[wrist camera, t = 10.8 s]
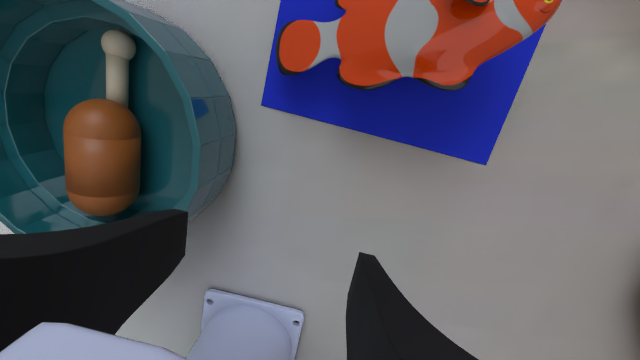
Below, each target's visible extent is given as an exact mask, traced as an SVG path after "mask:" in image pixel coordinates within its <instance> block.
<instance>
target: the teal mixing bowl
mask: <svg viewBox="0 0 640 360" xmlns="http://www.w3.org/2000/svg"><path fill="white" fill-rule="evenodd" d="M111 29H118V30H122V31H124V32H126V33H128V34H129V35H130V36H131V37H132V38H133V40H134V42H135V44H136V53H135V55H134V57H133V58H132V59H130V60H129V98H128V109H129V110H130V111H131V112H132V113H133V114H134V115H135V116H136V118H137V120H138V121H139V124H140V127H141V135H142V138H141V170H140V189H139V193H138V196H137V198H136V200H135V201H134V202H133V204H132V205H130V206H129V207H128V208H127V209H125V210H124V211H122V212H120V213H117V214H114V215H109V216H96V215H90V214H88V213H85V212H83V211H81V210H79V209H78V208H77V207H75V206H74V204H73V203H72V202H71V201H70V200H69V197H68V195H67V192H66V186H65V163H64V141H63V123H64V120H65V117H66V115H67V114H68V112H69V111H70V110H71V109H72V108H73V107H74V106H75V105H77V104H79V103H81V102H83V101H86V100H89V99H106V53H105V52H104V51H103V49H102V46H101V38H102V36H103V34H104V33H105V32H106V31H108V30H111ZM235 138H236V128H235V123H234V118H233V112H232V107H231V101H230V97H229V95H228V93H227V91H226V89H225V87H224V85H223V83H222V81H221V79H220V77H219V75H218V73H217V71H216V69H215V67H214V65H213V63H212V61H211V59H210V58H209V57H208V56H207V55H206V54H205V53H204V52H203V51H202V50H201V48H200V47H199V46H198V45H197V44H196V43H195V42H194V41H193V40H192V39H191V38H190V37H189V35H188V34H187V33H186V32H185V31H183V30H182V29H181V28H179V27H177V26H176V25H174V24H172V23H170V22H169V21H167V20H165V19H164V18H162V17H160V16H159V15H157V14H155V13H154V12H152V11H150V10H147V9H145V8H142V7H140V6H137V5H134V4H132V3H129V2H127V1H124V0H0V221H1V222H2V223H3V224H4V225H5V226H7V227H8V228H9V229H10V230H11V231H12V232H13V233H15V234H26V233H38V232H50V231H61V230H69V229H76V228H83V227H90V226H95V225H100V224H105V223H110V222H115V221H119V220H124V219H128V218H133V217H137V216H141V215H145V214H149V213H153V212H158V211H162V210H167V209H178V210H182V211H187V212H188V222H189V221H190V220H192V219H193V218H194V217H195V216H197V215H198V214H199V213H200V212H201V211H202V210H203V209H204V208H205V207H206V206H207V205H208V204H209V203H211V202H212V201H213V200H214V199H215V198H216V197H217V196H218V194H219V193H220V191H221V189H222V187H223V185H224V183H225V181H226V179H227V176H228V174H229V172H230V170H231V168H232V163H233V155H234V146H235Z"/></svg>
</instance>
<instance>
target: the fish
mask: <svg viewBox="0 0 640 360" xmlns="http://www.w3.org/2000/svg"><path fill="white" fill-rule="evenodd" d="M561 1H562V0H334V5H335V7H336V8H338V9H340V10H342V11H345V12H344V14H343V15H342V16H341V17H339V18H337V19H335V20H331V21H317V20H312V19H294V20H290V21H288V22H286V23H285V24H284V25H283V26H282V27H281V28H280V30H279V32H278V35H277V38H276V42H275V60H276V65H277V69H278V71H279V73H280V74H282V75H283V76H296V75H299V74H302V73H304V72H307V71H308V70H310V69H312V68H314V67H316V66H317V65H319V64H321V63H322V62H324V61H326V60H329V59H339V60H340V64H339V66H338V68H337V71H336V77H337V79H338V80H339V81H340V82H341V83H342V84H343V85H344V86H346V87H348V88H351V89H354V90H358V91H374V90H378V89H381V88H384V87H386V86H388V85H390V84H392V83H394V82H396V81H398V80H400V79H402V78H412V79H414V80H416V81H418V82H420V83H422V84H424V85H426V86H428V87H430V88H433V89H436V90H440V91H445V92H456V91H460V90H462V89H463V88H465V87H466V86H467V85H468V83H469V82H470V80H471V78H472V76H473V74H474V73H475V71H476V70H477V68H478V67H479V66H481V65H482V64H484V63H486V62H488V61H490V60H492V59H494V58H496V57H498V56H500V55H501V54H503V53H505V52H507V51H508V50H510V49H512V48H513V47H515V46H517V45H518V44H520V43H522V42H523V41H525V40H526V39H528V38H529V37H531V36H532V35H533V34H535V33H536V32H537V31H539V30H540V29H541V28H542V27H543V26H545V25H546V23H547V22H548V21H549V20H550V19H551V17H552V16H553V15H554V14H555V12H556V11H557V9H558V7H559V5H560V3H561Z"/></svg>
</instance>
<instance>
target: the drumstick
mask: <svg viewBox="0 0 640 360" xmlns="http://www.w3.org/2000/svg"><path fill="white" fill-rule="evenodd" d="M101 46H102V49H103V51H104V52H105V53H106V99H89V100H86V101H83V102H81V103H79V104H77V105H75V106H74V107H73V108H72V109H71V110H70V111H69V112H68V114H67V115H66V117H65V120H64V123H63V141H64V163H65V186H66V192H67V195H68V197H69V200H70V201H71V202H72V203H73V204H74V206H75V207H77V208H78V209H79V210H81V211H83V212H85V213H88V214H90V215H96V216H109V215H114V214H117V213H120V212H122V211H124V210H125V209H127V208H128V207H129V206H130V205H132V204H133V202H134V201H135V200H136V198H137V196H138V193H139V189H140V170H141V138H142V135H141V127H140V124H139V121H138V120H137V118H136V116H135V115H134V114H133V113H132V112H131V111H130V110H129V109H128V98H129V60H130V59H132V58H133V57H134V55H135V53H136V44H135V42H134V40H133V38H132V37H131V36H130V35H129V34H128V33H126V32H124V31H122V30H118V29H111V30H108V31H106V32H105V33H104V34H103V36H102V38H101Z"/></svg>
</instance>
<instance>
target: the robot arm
mask: <svg viewBox="0 0 640 360" xmlns="http://www.w3.org/2000/svg"><path fill="white" fill-rule="evenodd" d="M187 223H188V212H187V211H182V210H178V209H167V210H162V211H158V212H153V213H149V214H145V215H141V216H137V217H133V218H128V219H124V220H119V221H115V222H110V223H105V224H100V225H95V226H90V227H83V228H76V229H69V230H61V231H50V232H38V233H26V234H0V360H295V355H296V351H297V346H298V342H299V338H300V333H301V329H302V324H303V320H304V313H303V312H302V311H301V310H297V309H293V308H289V307H285V306H281V305H277V304H273V303H269V302H265V301H261V300H257V299H253V298H249V297H245V296H241V295H236V294H232V293H228V292H224V291H220V290H216V289H208V290H207V291H206V293H205V296H204V305H203V314H202V323H201V333H200V336H199V337H198V339H197V341H196V342H195V344H194V345H193V347H192V349H191V350H190V352H189V353H188V355H187V357H186V358H184V357H182V356H180V355H178V354H176V353H174V352H172V351H170V350H168V349H166V348H163V347H159V346H155V345H151V344H147V343H143V342H139V341H135V340H131V339H127V338H123V337H120V336H116V335H115V333H116V332H117V331H118V330H119V328H120V327H121V326H122V325H123V324H124V323H125V321H126V320H127V319H128V318H129V317H130V316H131V315H132V314H133V313H134V312H135V311H136V310H137V309H138V308H139V307H140V306H141V305H142V304H143V303H144V302H145V301H146V299H147V298H148V297H149V296H150V295H151V294H152V293H153V292H154V291H155V290H156V289H157V288H158V287H159V286H160V285H161V284H162V283H163V282H164V281H165V280H166V279H167V278H168V277H169V276H170V275H171V273H172V272H173V271H174V270H175V268H176V267H177V266H178V264H179V263H180V261H181V260H182V258H183V257H184V256H185V248H186V236H187ZM209 299H211V300H212V301H213V302H212V301H210V300H209ZM295 321H298V323H296V322H295ZM346 340H347V360H478V359H477V358H475V357H474V356H472V355H471V354H469V353H468V352H466V351H465V350H464V349H462V348H461V347H459V346H458V345H456V344H455V343H454V342H453V341H451V340H450V339H449V338H447V337H446V336H445V335H444V334H442V333H441V332H440V331H439V330H438V329H436V328H435V327H434V326H433V325H432V324H431V323H429V322H428V321H427V320H426V319H425V318H424V317H423V316H422V315H421V314H420V313H419V312H418V311H417V310H416V309H415V308H414V307H413V306H412V305H411V304H410V303H409V302H408V300H407V299H406V298H405V297H404V296H403V294H402V293H401V292H400V291H399V290H398V288H397V287H396V286H395V284H394V283H393V282H392V280H391V279H390V278H389V276H388V275H387V273H386V272H385V271H384V269H383V268H382V266H381V265H380V263H379V262H378V260H377V259H376V257H375V256H373V255H369V254H365V253H361V252H359V256H358V259H357V263H356V267H355V270H354V274H353V278H352V281H351V285H350V289H349V292H348V299H347V309H346Z"/></svg>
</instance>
